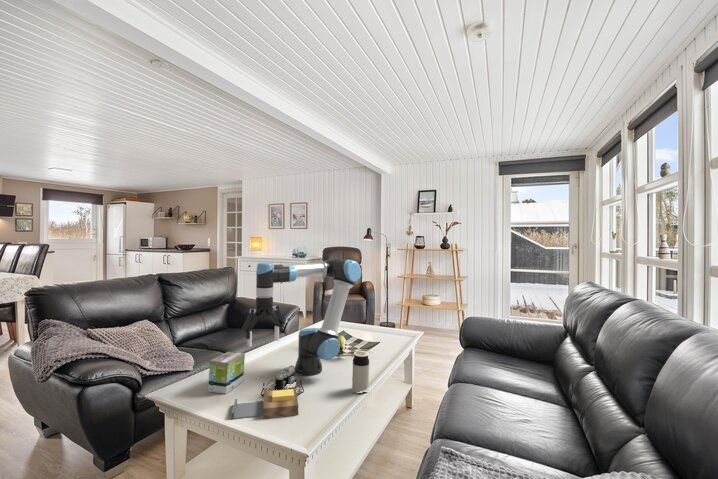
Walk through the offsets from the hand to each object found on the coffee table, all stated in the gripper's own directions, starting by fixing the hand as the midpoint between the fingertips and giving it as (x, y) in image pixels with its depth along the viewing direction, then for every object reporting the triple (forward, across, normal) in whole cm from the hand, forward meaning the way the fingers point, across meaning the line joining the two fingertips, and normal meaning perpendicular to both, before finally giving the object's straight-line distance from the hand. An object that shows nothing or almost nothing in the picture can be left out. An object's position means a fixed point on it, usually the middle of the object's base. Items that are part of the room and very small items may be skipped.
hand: (263, 343), depth 151 cm
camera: (+25, -13, 0) cm, 28 cm away
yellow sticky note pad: (+21, -2, +14) cm, 25 cm away
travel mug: (+25, -38, +25) cm, 52 cm away
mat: (+25, +10, +7) cm, 28 cm away
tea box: (+25, +7, -22) cm, 34 cm away
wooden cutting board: (+25, -1, +14) cm, 28 cm away
